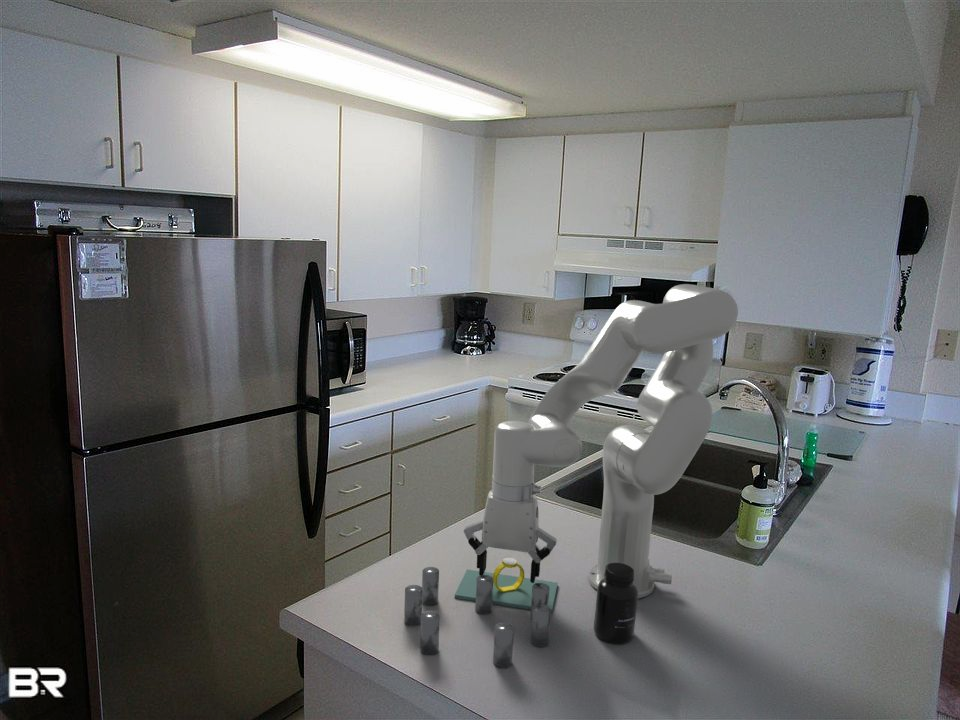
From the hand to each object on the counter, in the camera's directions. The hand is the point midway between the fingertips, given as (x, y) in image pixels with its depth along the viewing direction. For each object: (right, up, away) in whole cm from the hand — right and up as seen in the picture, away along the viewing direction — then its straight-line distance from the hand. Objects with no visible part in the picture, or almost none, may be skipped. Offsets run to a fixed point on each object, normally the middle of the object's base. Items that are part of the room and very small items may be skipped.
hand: (507, 575), depth 128 cm
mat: (0, -3, +1) cm, 4 cm away
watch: (0, -3, +1) cm, 3 cm away
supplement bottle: (+18, -7, -11) cm, 22 cm away
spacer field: (-6, -6, -12) cm, 15 cm away
